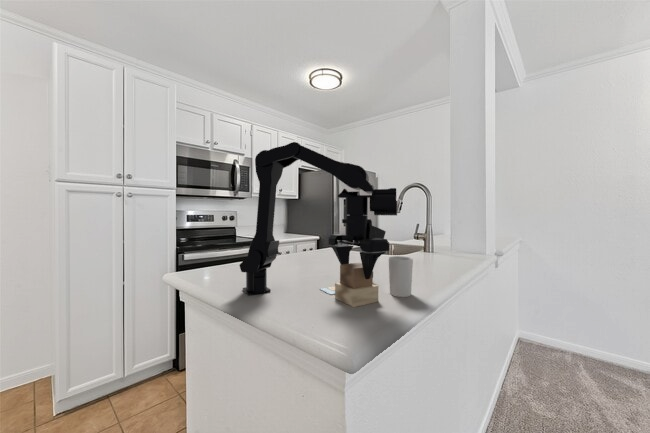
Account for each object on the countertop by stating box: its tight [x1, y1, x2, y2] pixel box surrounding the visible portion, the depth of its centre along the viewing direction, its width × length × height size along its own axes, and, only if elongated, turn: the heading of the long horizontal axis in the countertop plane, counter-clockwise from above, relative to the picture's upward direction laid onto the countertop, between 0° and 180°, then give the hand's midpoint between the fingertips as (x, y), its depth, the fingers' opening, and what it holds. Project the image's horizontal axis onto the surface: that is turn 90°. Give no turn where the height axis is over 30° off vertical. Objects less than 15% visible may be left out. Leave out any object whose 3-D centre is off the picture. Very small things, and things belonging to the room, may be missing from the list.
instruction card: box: [319, 285, 335, 296], centre depth 80 cm, size 6×9×1 cm, turn 121°
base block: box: [334, 281, 379, 308], centre depth 71 cm, size 8×8×4 cm
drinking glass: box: [388, 255, 414, 298], centre depth 76 cm, size 7×7×10 cm
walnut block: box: [339, 262, 374, 289], centre depth 71 cm, size 6×6×5 cm
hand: (356, 275), depth 71 cm, fingers open, 9 cm apart
